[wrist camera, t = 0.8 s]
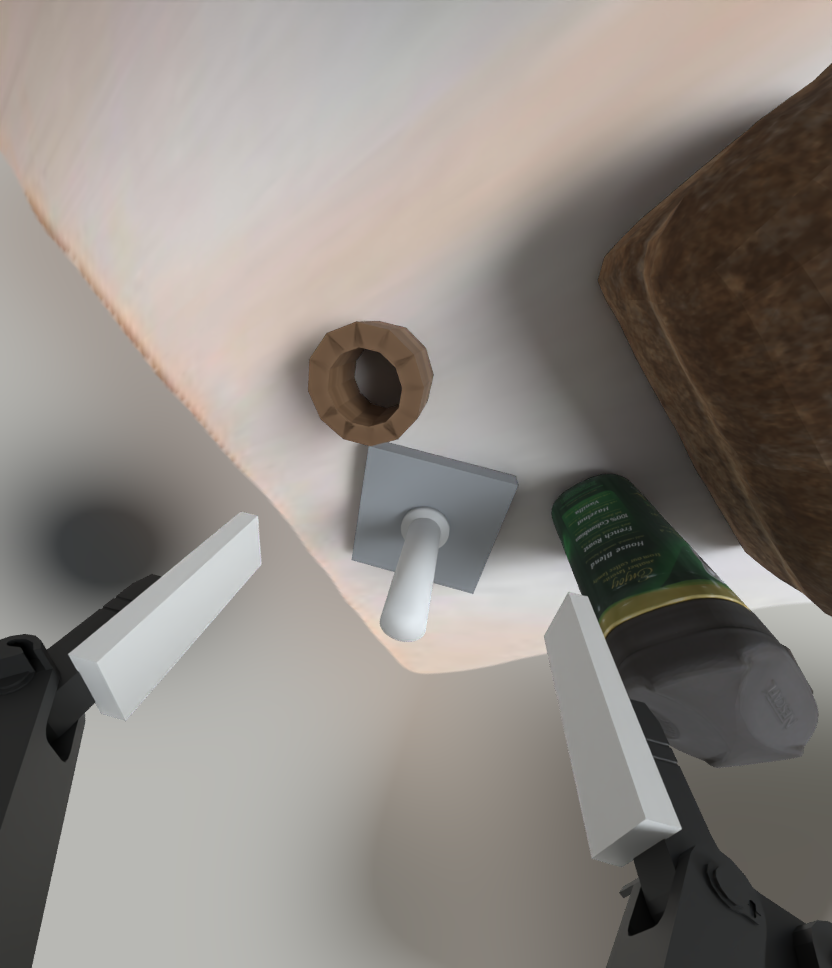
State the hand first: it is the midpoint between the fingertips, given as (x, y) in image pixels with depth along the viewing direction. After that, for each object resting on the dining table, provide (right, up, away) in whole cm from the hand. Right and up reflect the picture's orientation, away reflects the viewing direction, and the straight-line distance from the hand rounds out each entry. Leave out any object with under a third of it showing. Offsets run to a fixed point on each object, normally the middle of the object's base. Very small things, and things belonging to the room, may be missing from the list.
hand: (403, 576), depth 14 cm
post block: (+2, +1, +21) cm, 21 cm away
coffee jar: (+18, +1, +18) cm, 26 cm away
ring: (-2, +13, +15) cm, 20 cm away
